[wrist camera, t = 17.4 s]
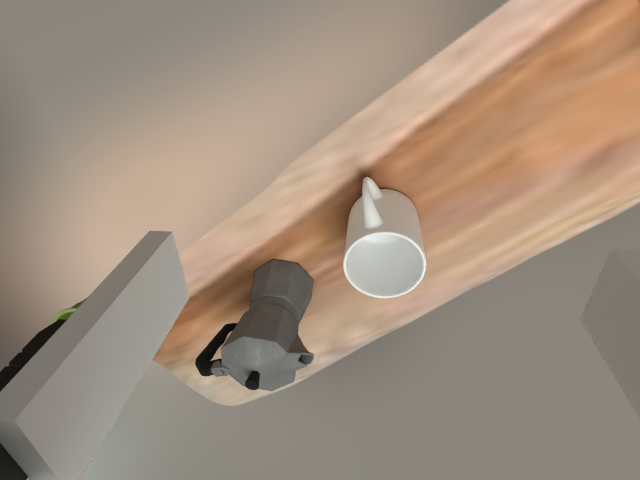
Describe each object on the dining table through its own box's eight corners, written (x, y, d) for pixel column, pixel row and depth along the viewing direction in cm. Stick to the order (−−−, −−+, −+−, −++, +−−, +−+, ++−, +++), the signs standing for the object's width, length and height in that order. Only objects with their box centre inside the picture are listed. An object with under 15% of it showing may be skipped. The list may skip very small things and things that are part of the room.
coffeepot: (317, 250, 54) (294, 351, 39) (335, 301, 59) (320, 409, 44) (218, 267, 58) (162, 365, 43) (241, 314, 63) (199, 418, 48)
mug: (402, 152, 46) (408, 193, 37) (423, 237, 51) (433, 290, 42) (332, 171, 48) (321, 214, 39) (359, 251, 54) (356, 304, 45)
